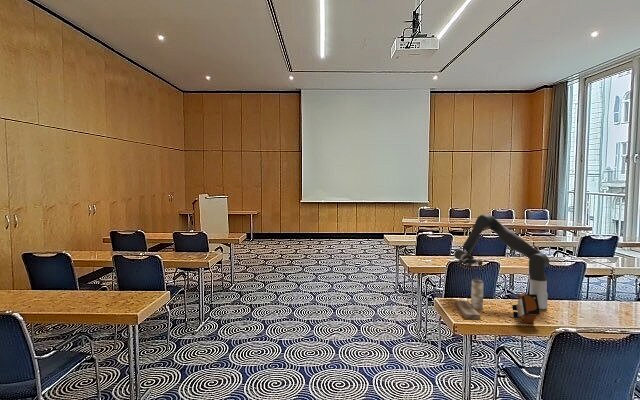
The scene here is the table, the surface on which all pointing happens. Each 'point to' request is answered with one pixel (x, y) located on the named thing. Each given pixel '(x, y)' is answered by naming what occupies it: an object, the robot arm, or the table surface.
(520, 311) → the toy
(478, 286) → the pale block with peg
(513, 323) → the table surface
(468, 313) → the walnut board
